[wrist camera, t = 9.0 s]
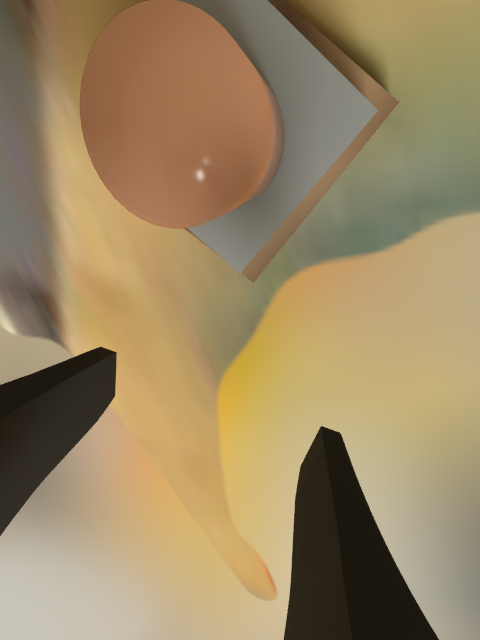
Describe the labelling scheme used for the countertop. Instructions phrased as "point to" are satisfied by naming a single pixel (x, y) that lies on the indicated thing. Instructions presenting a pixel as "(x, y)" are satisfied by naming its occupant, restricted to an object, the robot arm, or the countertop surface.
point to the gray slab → (299, 122)
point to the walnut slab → (384, 107)
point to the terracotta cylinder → (178, 116)
